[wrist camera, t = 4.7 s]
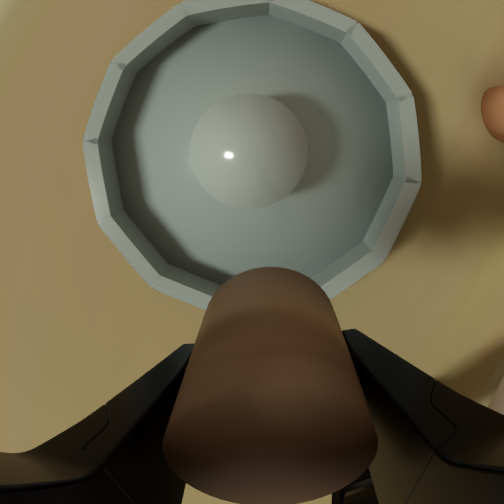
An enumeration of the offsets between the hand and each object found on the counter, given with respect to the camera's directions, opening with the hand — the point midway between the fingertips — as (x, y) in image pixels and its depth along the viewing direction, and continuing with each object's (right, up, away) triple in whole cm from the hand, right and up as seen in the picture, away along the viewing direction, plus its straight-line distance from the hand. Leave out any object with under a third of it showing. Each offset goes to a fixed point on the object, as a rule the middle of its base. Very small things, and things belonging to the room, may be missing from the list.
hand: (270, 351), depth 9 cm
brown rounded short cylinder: (0, 0, +1) cm, 1 cm away
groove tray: (-1, +8, +9) cm, 12 cm away
